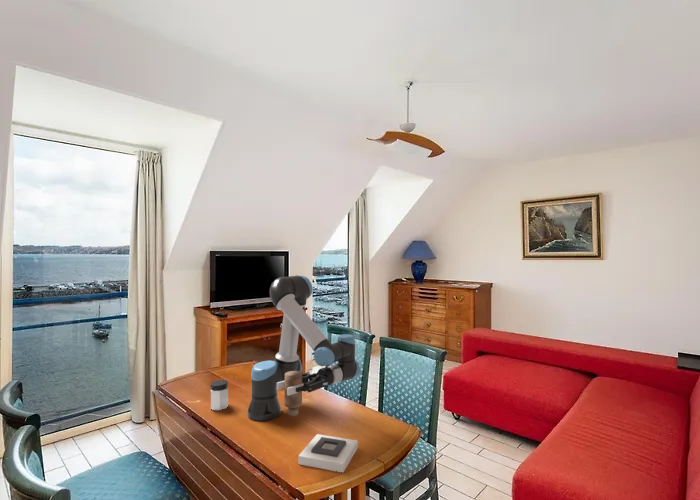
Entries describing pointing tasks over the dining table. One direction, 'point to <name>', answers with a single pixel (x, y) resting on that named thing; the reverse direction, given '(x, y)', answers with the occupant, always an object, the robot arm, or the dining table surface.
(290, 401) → the peg
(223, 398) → the jar
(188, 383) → the dining table surface
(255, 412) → the robot arm
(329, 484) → the dining table surface
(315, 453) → the frame
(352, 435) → the dining table surface
